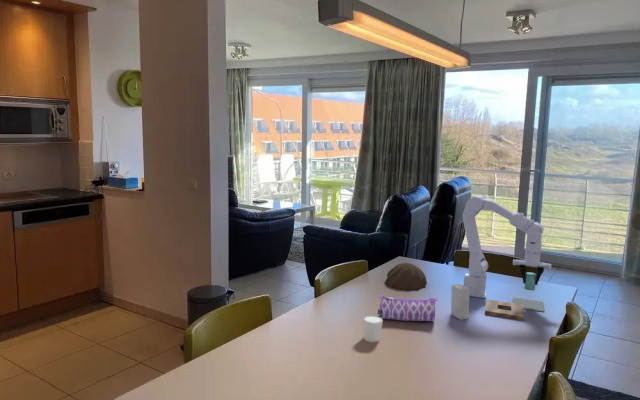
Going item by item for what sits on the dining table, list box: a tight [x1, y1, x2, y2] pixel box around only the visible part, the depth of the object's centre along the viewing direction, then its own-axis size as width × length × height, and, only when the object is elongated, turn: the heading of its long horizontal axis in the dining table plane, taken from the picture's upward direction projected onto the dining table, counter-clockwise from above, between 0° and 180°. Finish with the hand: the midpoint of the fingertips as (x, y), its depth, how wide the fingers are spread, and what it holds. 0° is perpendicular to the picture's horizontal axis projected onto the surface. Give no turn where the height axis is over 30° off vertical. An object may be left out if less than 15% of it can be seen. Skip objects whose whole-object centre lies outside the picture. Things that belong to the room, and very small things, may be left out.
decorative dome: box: [384, 262, 428, 291], centre depth 222 cm, size 19×20×10 cm
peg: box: [524, 271, 537, 291], centre depth 196 cm, size 4×4×6 cm
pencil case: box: [377, 294, 439, 323], centre depth 179 cm, size 22×9×10 cm, turn 85°
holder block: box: [484, 299, 524, 321], centre depth 190 cm, size 14×14×2 cm
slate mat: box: [512, 297, 546, 313], centre depth 197 cm, size 12×12×1 cm
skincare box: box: [450, 283, 470, 321], centre depth 182 cm, size 6×4×12 cm
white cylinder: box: [362, 315, 384, 343], centre depth 161 cm, size 7×7×7 cm
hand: (530, 283), depth 196 cm, fingers closed on peg, 4 cm apart
